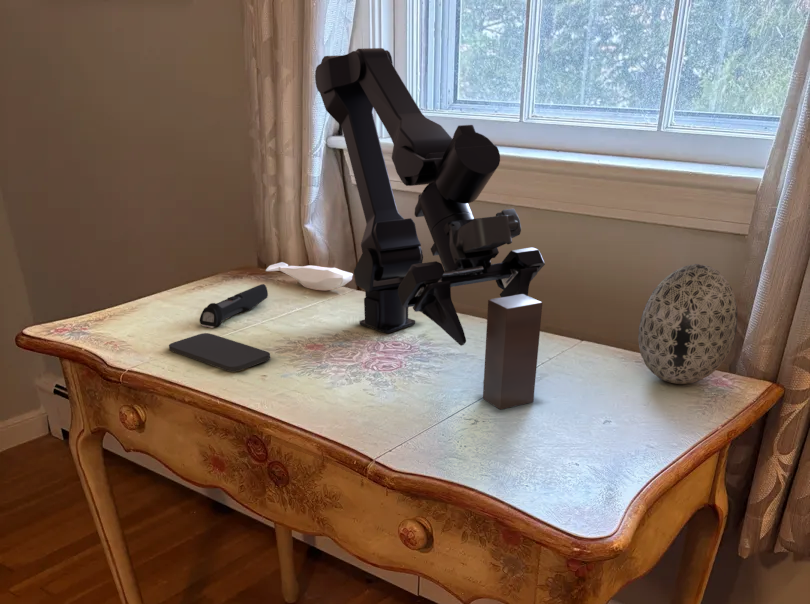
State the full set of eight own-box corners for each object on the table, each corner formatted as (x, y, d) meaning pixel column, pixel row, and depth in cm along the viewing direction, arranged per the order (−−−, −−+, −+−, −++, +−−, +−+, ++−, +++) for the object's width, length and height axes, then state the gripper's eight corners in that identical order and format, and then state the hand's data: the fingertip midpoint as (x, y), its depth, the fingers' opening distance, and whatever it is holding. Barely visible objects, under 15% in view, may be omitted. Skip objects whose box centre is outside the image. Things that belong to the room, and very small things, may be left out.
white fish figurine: (338, 299, 135) (337, 275, 133) (265, 281, 145) (262, 259, 142) (359, 292, 139) (358, 268, 137) (286, 275, 148) (284, 253, 146)
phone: (206, 331, 119) (273, 353, 111) (206, 337, 119) (274, 358, 111) (165, 345, 114) (232, 368, 106) (166, 350, 115) (233, 374, 107)
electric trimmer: (274, 303, 134) (273, 284, 133) (217, 328, 123) (214, 308, 121) (256, 300, 136) (254, 281, 134) (198, 325, 124) (195, 305, 122)
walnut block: (482, 398, 100) (487, 299, 93) (515, 391, 102) (522, 293, 95) (500, 409, 97) (507, 308, 90) (533, 402, 99) (542, 302, 92)
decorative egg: (727, 372, 107) (754, 258, 99) (718, 405, 98) (746, 282, 90) (639, 360, 111) (658, 249, 103) (623, 390, 102) (642, 271, 94)
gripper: (409, 192, 89) (456, 317, 87) (543, 178, 97) (589, 293, 95) (379, 249, 99) (420, 361, 98) (502, 233, 107) (543, 337, 105)
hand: (495, 337), depth 98 cm, fingers open, 9 cm apart
